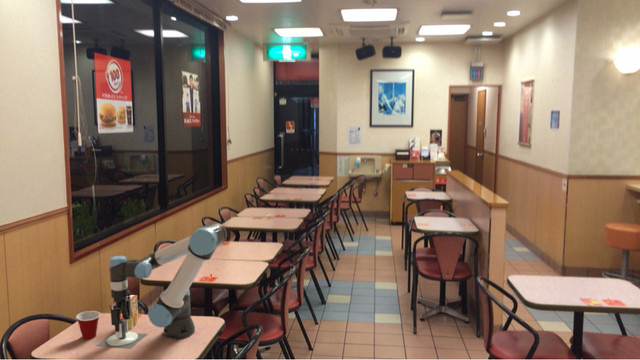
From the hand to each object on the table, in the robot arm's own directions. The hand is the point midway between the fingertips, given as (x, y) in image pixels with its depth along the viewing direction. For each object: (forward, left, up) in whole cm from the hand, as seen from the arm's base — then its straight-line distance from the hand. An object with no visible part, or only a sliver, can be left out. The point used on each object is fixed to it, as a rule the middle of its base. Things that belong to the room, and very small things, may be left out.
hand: (122, 334), depth 240 cm
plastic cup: (+18, -1, -3) cm, 18 cm away
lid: (0, 0, -3) cm, 3 cm away
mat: (0, 0, -3) cm, 3 cm away
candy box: (+5, -17, -3) cm, 18 cm away
